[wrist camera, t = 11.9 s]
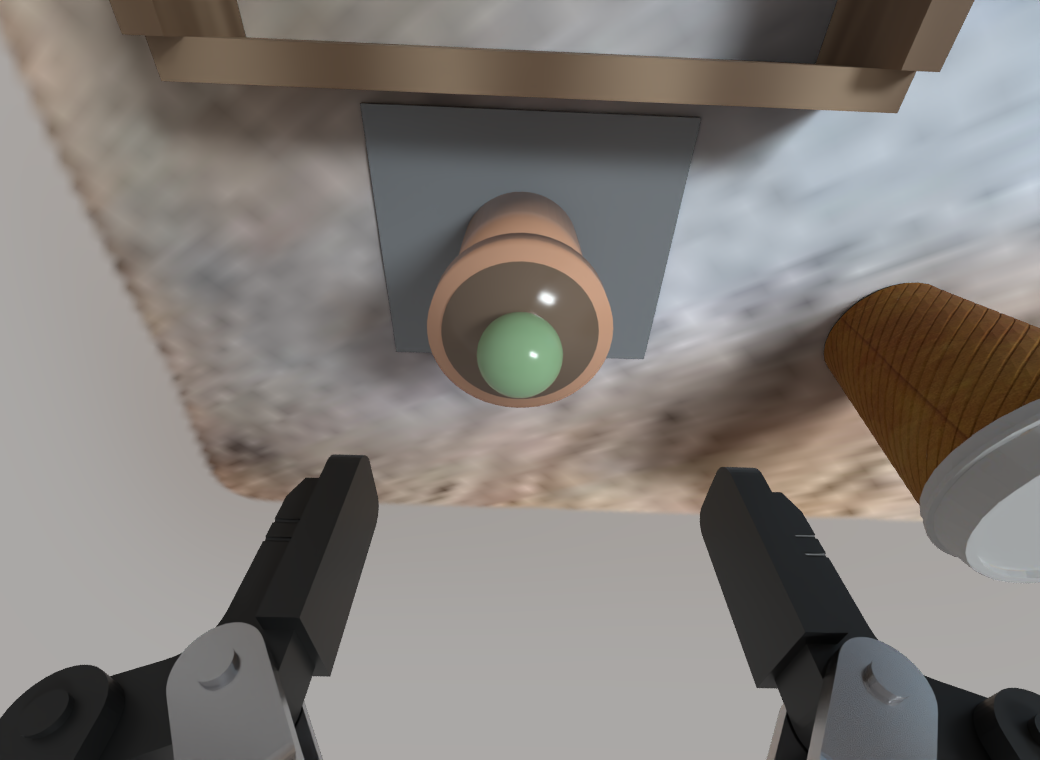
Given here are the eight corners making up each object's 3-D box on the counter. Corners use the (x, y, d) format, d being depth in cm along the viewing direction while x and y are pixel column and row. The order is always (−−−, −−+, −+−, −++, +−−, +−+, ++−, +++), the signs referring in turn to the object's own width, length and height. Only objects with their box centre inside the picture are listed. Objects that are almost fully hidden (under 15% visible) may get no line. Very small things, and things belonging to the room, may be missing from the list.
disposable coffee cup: (1003, 337, 25) (1299, 518, 16) (831, 425, 29) (984, 614, 20) (956, 209, 21) (1320, 349, 12) (763, 331, 25) (915, 512, 16)
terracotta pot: (594, 185, 20) (646, 285, 12) (578, 312, 24) (609, 458, 16) (451, 179, 20) (399, 276, 12) (457, 308, 24) (422, 453, 16)
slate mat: (698, 117, 19) (701, 118, 19) (642, 356, 26) (643, 359, 26) (362, 102, 19) (360, 103, 19) (397, 348, 26) (396, 351, 26)
